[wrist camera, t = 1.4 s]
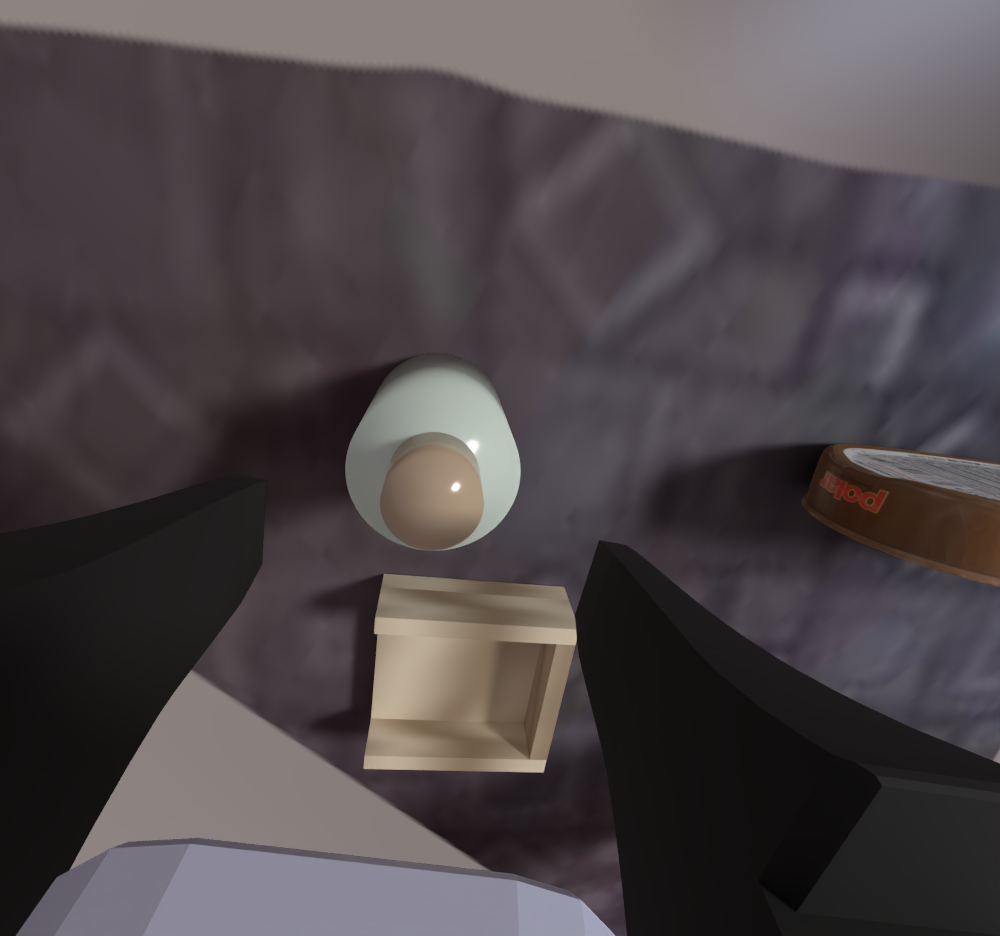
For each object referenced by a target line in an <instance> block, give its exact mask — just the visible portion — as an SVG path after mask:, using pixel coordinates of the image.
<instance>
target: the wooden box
mask: <svg viewBox="0 0 1000 936" xmlns="http://www.w3.org/2000/svg"><path fill="white" fill-rule="evenodd" d="M374 634H378V636H377V648H376V661H375V674H374V686H373V699H372V712H371V721H370V727H369V733H368V739H367V745H366V751H365V759H364V769H397V770H446V771H494V772H542V773H544V769H545V765H546V761H547V757H548V753H549V749H550V745H551V741H552V737H553V733H554V729H555V725H556V721H557V717H558V713H559V709H560V705H561V701H562V697H563V693H564V689H565V685H566V681H567V677H568V673H569V669H570V665H571V661H572V657H573V653H574V649H575V645H576V641H577V633H576V622H575V616H574V614H573V611H572V608H571V605H570V602H569V600H568V597H567V594H566V591H565V588H564V587H558V586H544V585H531V584H517V583H503V582H490V581H476V580H463V579H449V578H435V577H422V576H408V575H394V574H384V576H383V581H382V586H381V591H380V596H379V601H378V606H377V611H376V616H375V627H374Z"/></svg>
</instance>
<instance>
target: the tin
mask: <svg viewBox="0 0 1000 936" xmlns="http://www.w3.org/2000/svg"><path fill="white" fill-rule="evenodd" d="M802 505H803V507H804V509H805V510H806V511H807V512H808V513H809V514H810V515H812V516H813V517H814V518H815V519H817V520H819V521H820V522H821V523H823V524H824V525H826V526H828V527H830V528H832V529H834V530H835V531H838V532H839V533H841V534H844V535H846V536H847V537H849V538H851V539H853V540H856V541H858V542H860V543H863V544H865V545H868V546H870V547H872V548H874V549H877V550H880V551H882V552H885V553H887V554H890V555H892V556H895V557H898V558H901V559H903V560H906V561H908V562H910V563H914V564H917V565H920V566H924V567H927V568H929V569H934V570H936V571H940V572H943V573H947V574H950V575H954V576H958V577H961V578H965V579H969V580H973V581H976V582H980V583H985V584H989V585H994V586H998V587H1000V463H996V462H989V461H982V460H976V459H969V458H962V457H956V456H949V455H942V454H935V453H927V452H919V451H911V450H903V449H895V448H886V447H878V446H870V445H858V444H833V445H830V446H828V447H826V448H825V449H824V451H823V453H822V454H821V456H820V459H819V461H818V463H817V466H816V469H815V472H814V475H813V477H812V480H811V483H810V486H809V489H808V492H807V494H805V495H804V496H803V498H802Z"/></svg>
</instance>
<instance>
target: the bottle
mask: <svg viewBox="0 0 1000 936" xmlns="http://www.w3.org/2000/svg"><path fill="white" fill-rule="evenodd" d="M520 474H521V472H520V459H519V454H518V450H517V447H516V444H515V441H514V438H513V436H512V433H511V430H510V428H509V425H508V422H507V419H506V417H505V414H504V411H503V408H502V406H501V403H500V400H499V398H498V395H497V392H496V390H495V388H494V386H493V384H492V383H491V381H490V380H489V378H488V377H487V376H486V375H485V374H484V373H483V372H482V371H481V370H480V369H479V368H478V367H477V366H475V365H474V364H472V363H471V362H469V361H467V360H465V359H463V358H460V357H458V356H455V355H450V354H445V353H427V354H422V355H418V356H415V357H412V358H410V359H408V360H406V361H404V362H402V363H401V364H399V365H398V366H396V367H395V368H394V369H393V370H392V371H391V372H390V373H389V374H388V375H387V376H386V378H385V379H384V380H383V382H382V384H381V385H380V387H379V389H378V391H377V393H376V394H375V396H374V398H373V400H372V402H371V404H370V406H369V407H368V409H367V411H366V413H365V415H364V417H363V418H362V420H361V422H360V424H359V426H358V428H357V430H356V431H355V433H354V435H353V438H352V440H351V442H350V444H349V448H348V452H347V455H346V464H345V475H346V482H347V488H348V491H349V494H350V497H351V499H352V501H353V503H354V505H355V507H356V509H357V510H358V512H359V513H360V515H361V516H362V517H363V519H364V520H365V521H366V522H367V523H368V524H369V525H370V526H371V527H372V528H373V529H374V530H376V531H377V532H378V533H380V534H381V535H383V536H384V537H386V538H388V539H389V540H391V541H393V542H395V543H398V544H401V545H403V546H406V547H410V548H414V549H420V550H435V551H437V550H448V549H453V548H458V547H461V546H464V545H467V544H469V543H472V542H474V541H476V540H478V539H480V538H481V537H483V536H484V535H486V534H487V533H489V532H490V531H491V530H492V529H494V528H495V527H496V526H497V525H498V524H499V523H500V522H501V521H502V520H503V518H504V517H505V516H506V514H507V513H508V511H509V510H510V508H511V506H512V504H513V502H514V500H515V497H516V495H517V492H518V488H519V483H520Z"/></svg>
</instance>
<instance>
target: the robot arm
mask: <svg viewBox="0 0 1000 936" xmlns="http://www.w3.org/2000/svg"><path fill="white" fill-rule="evenodd" d="M266 482H267V480H262V479H257V478H251V477H246V476H240V475H233V476H227V477H223V478H219V479H215V480H212V481H208V482H205V483H201V484H198V485H195V486H191V487H188V488H185V489H182V490H178V491H175V492H172V493H169V494H165V495H162V496H159V497H155V498H152V499H149V500H145V501H142V502H138V503H134V504H131V505H127V506H123V507H120V508H116V509H112V510H109V511H105V512H101V513H97V514H94V515H90V516H86V517H82V518H77V519H73V520H69V521H64V522H59V523H55V524H50V525H45V526H39V527H34V528H29V529H24V530H19V531H13V532H7V533H1V534H0V936H615V935H614V934H613V933H612V932H611V931H610V930H609V928H608V927H607V926H606V925H605V924H604V923H603V922H602V921H601V920H600V919H599V918H598V917H597V916H596V915H595V914H594V913H593V912H592V911H591V910H590V909H589V908H588V907H587V906H586V905H585V904H584V903H583V902H582V901H581V900H580V899H579V898H578V897H576V896H575V895H574V894H572V893H571V892H570V891H567V890H564V889H561V888H558V887H554V886H551V885H548V884H545V883H541V882H538V881H535V880H531V879H528V878H525V877H522V876H518V875H515V874H510V873H501V872H493V871H484V870H474V869H466V868H457V867H449V866H439V865H431V864H422V863H412V862H405V861H395V860H387V859H378V858H369V857H360V856H352V855H343V854H334V853H325V852H316V851H307V850H299V849H290V848H282V847H273V846H264V845H255V844H246V843H238V842H229V841H220V840H210V839H202V838H189V839H172V840H154V841H137V842H128V843H125V844H122V845H119V846H116V847H113V848H111V849H108V850H107V851H105V852H103V853H101V854H100V855H98V856H95V857H94V858H92V859H90V860H88V861H86V862H84V863H82V864H81V865H79V866H77V867H75V868H73V869H71V870H70V868H71V866H72V864H73V862H74V861H75V859H76V857H77V855H78V853H79V851H80V849H81V847H82V846H83V844H84V842H85V840H86V838H87V837H88V835H89V833H90V831H91V829H92V827H93V826H94V824H95V822H96V820H97V819H98V817H99V815H100V813H101V812H102V810H103V808H104V806H105V805H106V803H107V801H108V799H109V798H110V796H111V794H112V792H113V791H114V789H115V787H116V785H117V784H118V782H119V780H120V778H121V777H122V775H123V773H124V772H125V770H126V768H127V766H128V765H129V763H130V761H131V760H132V758H133V756H134V755H135V753H136V751H137V750H138V748H139V746H140V745H141V743H142V741H143V740H144V738H145V737H146V735H147V733H148V732H149V730H150V728H151V727H152V725H153V723H154V722H155V720H156V718H157V717H158V715H159V713H160V712H161V711H162V709H163V708H164V706H165V705H166V703H167V702H168V700H169V699H170V697H171V696H172V695H173V693H174V692H175V690H176V689H177V688H178V686H179V685H180V684H181V682H182V681H183V680H184V678H185V677H186V676H187V674H188V673H189V672H190V670H191V669H192V668H193V667H194V665H195V664H196V663H197V661H198V660H199V659H200V657H201V656H202V655H203V653H204V652H205V651H206V649H207V648H208V647H209V645H210V644H211V643H212V641H213V640H214V639H215V637H216V636H217V635H218V633H219V632H220V631H221V629H222V628H223V627H224V625H225V624H226V623H227V621H228V620H229V619H230V617H231V616H232V615H233V613H234V612H235V610H236V609H237V608H238V606H239V605H240V603H241V602H242V600H243V598H244V597H245V595H246V593H247V591H248V590H249V588H250V586H251V584H252V582H253V580H254V578H255V577H256V575H257V573H258V571H259V569H260V567H261V565H262V557H263V538H264V520H265V501H266ZM575 622H576V633H577V643H578V652H579V658H580V662H581V667H582V671H583V675H584V679H585V683H586V687H587V691H588V695H589V699H590V703H591V707H592V711H593V715H594V719H595V723H596V727H597V731H598V735H599V739H600V742H601V746H602V750H603V755H604V760H605V765H606V769H607V774H608V781H609V788H610V795H611V802H612V809H613V815H614V822H615V830H616V838H617V846H618V854H619V863H620V871H621V879H622V888H623V898H624V908H625V918H626V928H627V936H1000V764H999V763H997V762H994V761H992V760H989V759H987V758H984V757H982V756H980V755H977V754H975V753H972V752H970V751H967V750H965V749H962V748H960V747H957V746H955V745H953V744H950V743H948V742H945V741H943V740H940V739H938V738H935V737H933V736H930V735H928V734H926V733H923V732H921V731H918V730H916V729H914V728H911V727H909V726H907V725H905V724H902V723H900V722H898V721H896V720H894V719H892V718H890V717H888V716H885V715H883V714H881V713H879V712H877V711H875V710H873V709H870V708H868V707H866V706H864V705H862V704H860V703H858V702H856V701H854V700H852V699H850V698H848V697H846V696H844V695H842V694H840V693H838V692H836V691H834V690H832V689H831V688H829V687H827V686H825V685H823V684H822V683H820V682H818V681H816V680H814V679H812V678H811V677H809V676H807V675H805V674H803V673H802V672H800V671H798V670H796V669H795V668H793V667H791V666H789V665H788V664H786V663H784V662H783V661H781V660H779V659H778V658H776V657H775V656H773V655H771V654H770V653H768V652H767V651H765V650H764V649H762V648H761V647H759V646H757V645H756V644H754V643H753V642H751V641H750V640H748V639H747V638H745V637H744V636H742V635H741V634H739V633H738V632H736V631H735V630H734V629H732V628H731V627H729V626H728V625H727V624H725V623H724V622H723V621H721V620H720V619H719V618H717V617H716V616H715V615H713V614H712V613H711V612H709V611H708V610H707V609H705V608H704V607H703V606H702V605H700V604H699V603H698V602H696V601H695V600H694V599H693V598H691V597H690V596H689V595H688V594H687V593H685V592H684V591H683V590H682V589H680V588H679V587H678V586H677V585H676V584H674V583H673V582H672V581H671V580H670V579H668V578H667V577H666V576H665V575H664V574H662V573H661V572H660V571H659V570H658V569H657V568H655V567H654V566H653V565H652V564H651V563H649V562H648V561H647V560H646V559H644V558H643V557H642V556H641V555H639V554H638V553H637V552H635V551H634V550H633V549H631V548H630V547H628V546H626V545H622V544H617V543H611V542H606V541H600V540H599V543H598V546H597V549H596V552H595V555H594V558H593V561H592V564H591V567H590V570H589V574H588V577H587V580H586V583H585V586H584V589H583V592H582V595H581V598H580V601H579V605H578V608H577V611H576V614H575Z"/></svg>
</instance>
